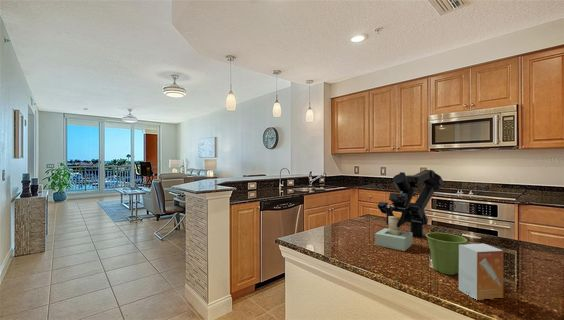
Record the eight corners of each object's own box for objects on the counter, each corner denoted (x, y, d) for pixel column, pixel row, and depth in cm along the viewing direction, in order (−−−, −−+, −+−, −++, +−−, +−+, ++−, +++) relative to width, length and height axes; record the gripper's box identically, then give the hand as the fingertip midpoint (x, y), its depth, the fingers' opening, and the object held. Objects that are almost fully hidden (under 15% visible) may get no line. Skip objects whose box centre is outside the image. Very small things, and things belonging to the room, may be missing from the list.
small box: (477, 301, 69) (477, 251, 69) (457, 289, 76) (457, 244, 75) (504, 299, 70) (504, 250, 70) (483, 287, 77) (483, 242, 77)
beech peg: (388, 238, 119) (388, 215, 119) (399, 239, 117) (398, 216, 117) (388, 241, 114) (388, 218, 114) (400, 242, 113) (400, 218, 113)
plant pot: (476, 278, 82) (476, 242, 82) (437, 278, 83) (437, 242, 83) (452, 263, 94) (452, 232, 94) (419, 263, 95) (418, 232, 95)
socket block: (384, 238, 124) (384, 228, 124) (412, 243, 116) (412, 232, 116) (375, 245, 115) (375, 233, 115) (404, 251, 107) (404, 238, 107)
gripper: (379, 184, 125) (365, 210, 119) (419, 187, 111) (407, 218, 104) (388, 199, 130) (375, 225, 124) (428, 204, 116) (416, 234, 109)
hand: (392, 225), depth 115 cm, fingers closed on beech peg, 4 cm apart
